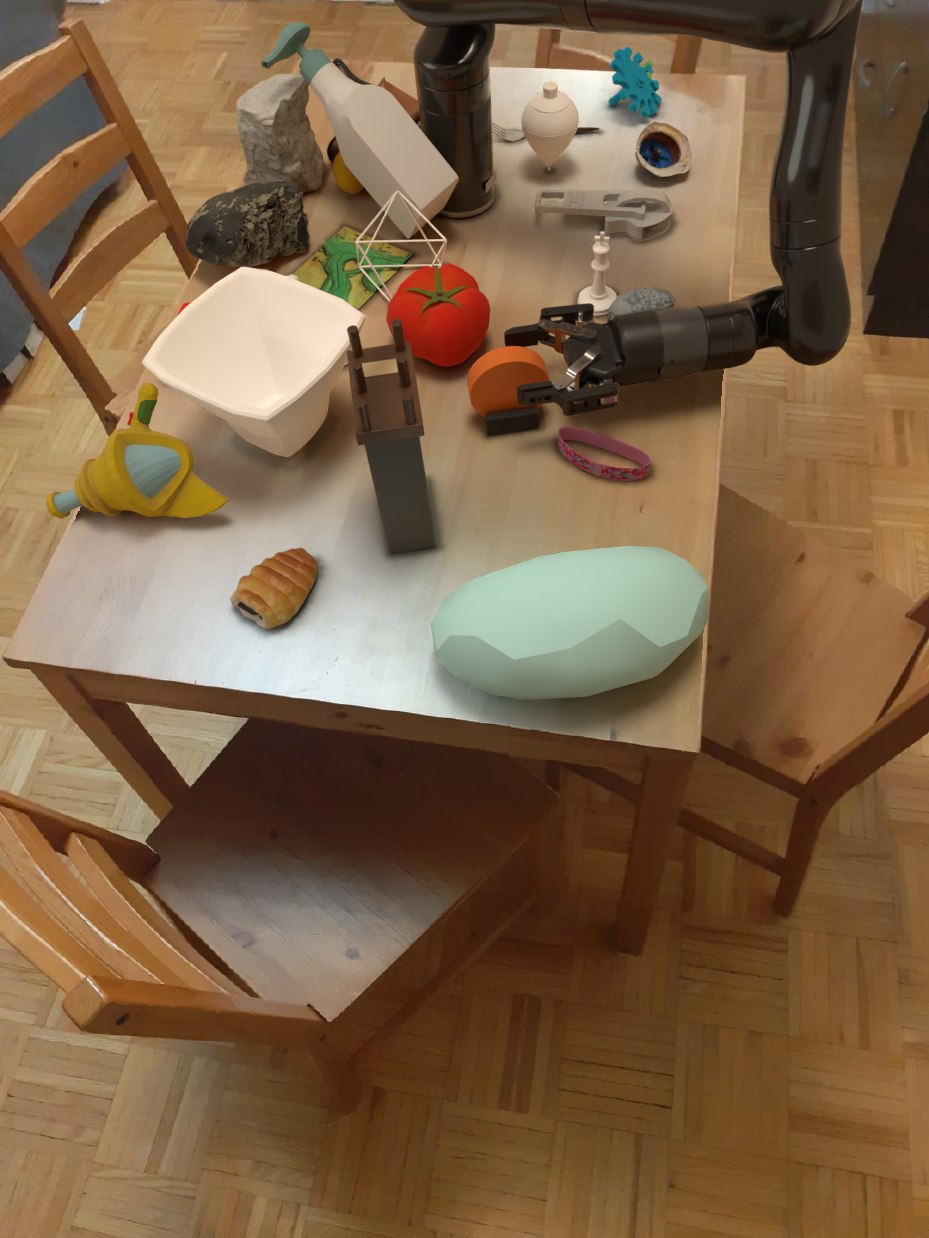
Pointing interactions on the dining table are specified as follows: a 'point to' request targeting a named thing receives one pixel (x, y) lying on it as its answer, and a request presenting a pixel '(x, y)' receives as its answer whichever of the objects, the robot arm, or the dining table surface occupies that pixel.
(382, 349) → the rack
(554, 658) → the decorative stone
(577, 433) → the headband
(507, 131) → the fork
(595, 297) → the chess piece
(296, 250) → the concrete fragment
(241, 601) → the pastry
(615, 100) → the gear
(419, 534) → the stand block
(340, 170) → the doorknob
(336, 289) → the terrain map
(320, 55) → the soap bottle
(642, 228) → the zipper pull
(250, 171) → the decorative stone
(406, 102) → the sunglasses case
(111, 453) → the toy
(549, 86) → the spinning top
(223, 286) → the bowl
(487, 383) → the disc
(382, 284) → the geometric polyhedron
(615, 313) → the fossil
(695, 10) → the robot arm
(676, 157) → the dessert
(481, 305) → the tomato
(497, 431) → the black blocks
